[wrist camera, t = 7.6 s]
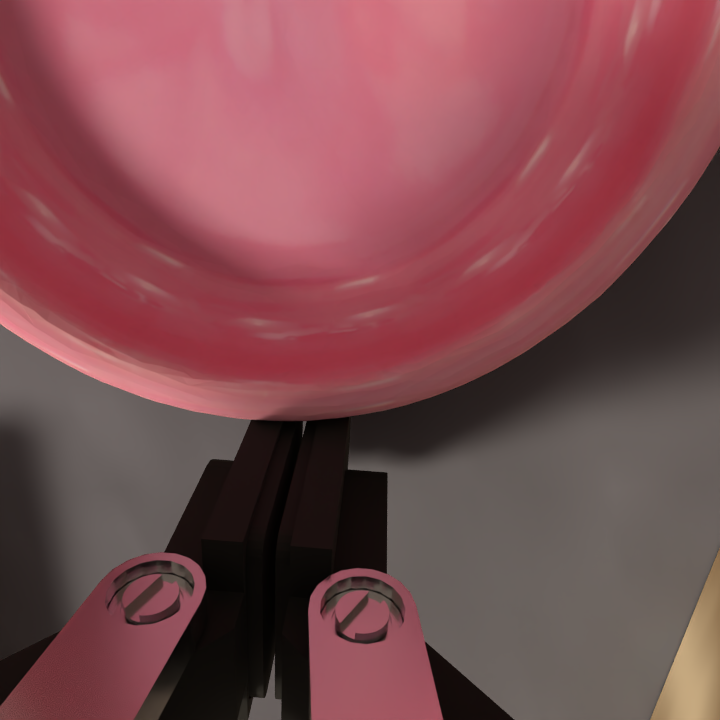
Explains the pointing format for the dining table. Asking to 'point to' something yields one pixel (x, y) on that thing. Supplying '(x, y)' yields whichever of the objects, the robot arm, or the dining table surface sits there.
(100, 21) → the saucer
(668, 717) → the oak cubby
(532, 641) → the dining table surface
